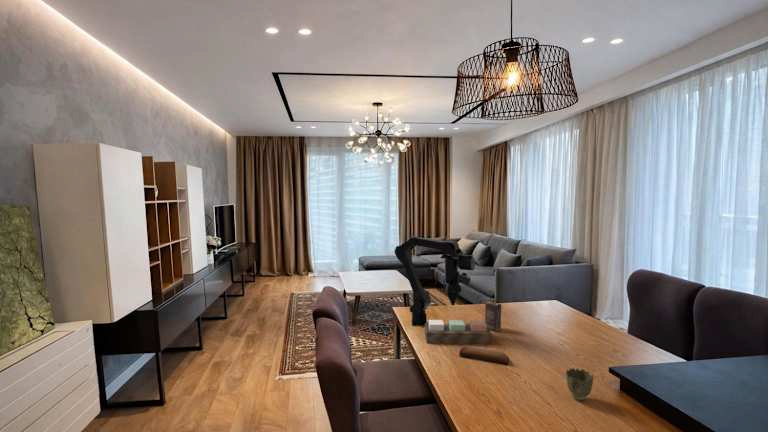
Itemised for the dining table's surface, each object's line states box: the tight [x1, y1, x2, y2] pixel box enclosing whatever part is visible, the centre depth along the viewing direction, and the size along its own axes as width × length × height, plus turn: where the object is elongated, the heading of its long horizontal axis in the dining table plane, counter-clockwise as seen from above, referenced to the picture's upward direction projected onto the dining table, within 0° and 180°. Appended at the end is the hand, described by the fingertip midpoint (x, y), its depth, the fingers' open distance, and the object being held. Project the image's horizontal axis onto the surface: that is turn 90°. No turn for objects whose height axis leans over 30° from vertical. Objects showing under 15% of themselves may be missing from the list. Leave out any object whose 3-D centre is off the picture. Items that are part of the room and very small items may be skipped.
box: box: [484, 301, 502, 332], centre depth 170 cm, size 6×4×12 cm
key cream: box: [428, 319, 445, 331], centre depth 159 cm, size 6×6×4 cm
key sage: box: [448, 319, 466, 331], centre depth 159 cm, size 6×6×4 cm
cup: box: [565, 367, 595, 402], centre depth 112 cm, size 8×7×8 cm
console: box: [424, 322, 492, 345], centre depth 159 cm, size 27×11×4 cm, turn 88°
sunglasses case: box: [458, 345, 510, 365], centre depth 141 cm, size 18×7×7 cm
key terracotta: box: [469, 319, 487, 331], centre depth 158 cm, size 6×6×4 cm
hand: (451, 302), depth 168 cm, fingers open, 9 cm apart
